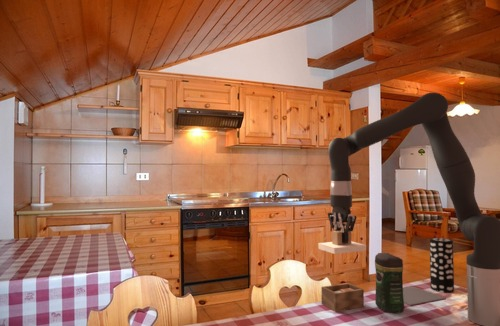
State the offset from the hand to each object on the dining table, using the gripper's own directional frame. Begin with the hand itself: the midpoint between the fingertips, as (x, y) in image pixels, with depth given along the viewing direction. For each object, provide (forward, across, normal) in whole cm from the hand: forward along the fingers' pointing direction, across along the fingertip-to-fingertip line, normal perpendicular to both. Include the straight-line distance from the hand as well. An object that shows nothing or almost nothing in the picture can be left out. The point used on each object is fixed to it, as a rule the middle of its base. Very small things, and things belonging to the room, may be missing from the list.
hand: (341, 242), depth 120 cm
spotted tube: (+23, +1, +48) cm, 53 cm away
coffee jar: (+22, +8, +13) cm, 27 cm away
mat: (+22, +2, +31) cm, 38 cm away
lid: (+3, 0, 0) cm, 3 cm away
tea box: (+22, 0, 0) cm, 22 cm away
